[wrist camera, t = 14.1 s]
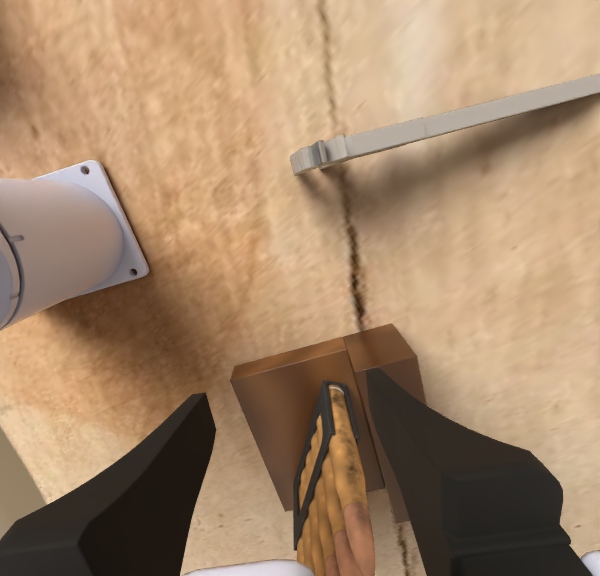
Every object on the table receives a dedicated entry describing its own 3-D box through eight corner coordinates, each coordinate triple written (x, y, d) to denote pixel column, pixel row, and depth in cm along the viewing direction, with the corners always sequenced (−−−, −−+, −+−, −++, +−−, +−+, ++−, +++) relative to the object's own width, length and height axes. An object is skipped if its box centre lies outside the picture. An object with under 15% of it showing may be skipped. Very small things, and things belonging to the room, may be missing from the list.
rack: (285, 490, 29) (284, 550, 24) (234, 366, 25) (220, 407, 20) (421, 457, 28) (447, 512, 23) (392, 323, 24) (417, 355, 19)
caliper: (294, 177, 21) (295, 172, 15) (290, 161, 20) (289, 148, 14) (602, 92, 20) (739, 48, 14) (603, 73, 19) (744, 20, 13)
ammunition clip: (313, 489, 26) (330, 719, 15) (292, 485, 26) (292, 716, 15) (347, 383, 23) (400, 571, 12) (323, 379, 23) (354, 565, 12)
